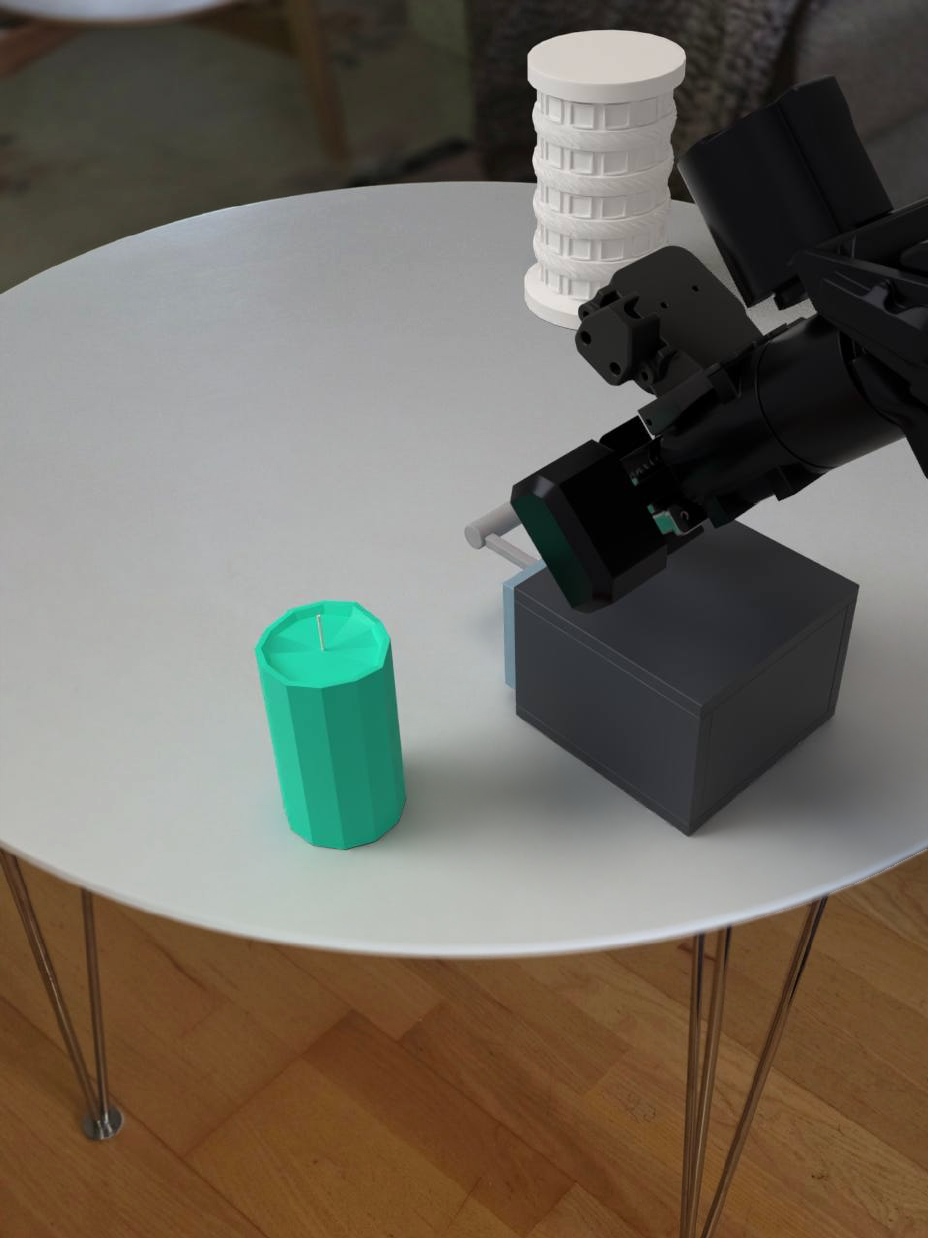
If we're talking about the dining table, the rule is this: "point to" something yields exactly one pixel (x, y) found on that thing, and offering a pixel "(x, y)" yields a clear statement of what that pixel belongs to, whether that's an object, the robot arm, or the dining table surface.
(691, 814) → the dark grey box
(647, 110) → the decorative container
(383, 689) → the candle
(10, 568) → the dining table surface
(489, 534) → the drawer
